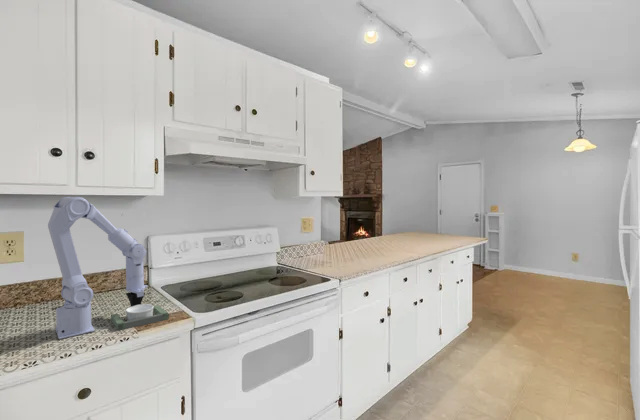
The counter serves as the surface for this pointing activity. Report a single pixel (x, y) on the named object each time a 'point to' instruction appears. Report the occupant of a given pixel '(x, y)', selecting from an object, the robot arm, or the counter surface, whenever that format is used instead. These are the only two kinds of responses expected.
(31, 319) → the counter surface
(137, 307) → the ramekin
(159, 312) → the chute bay
